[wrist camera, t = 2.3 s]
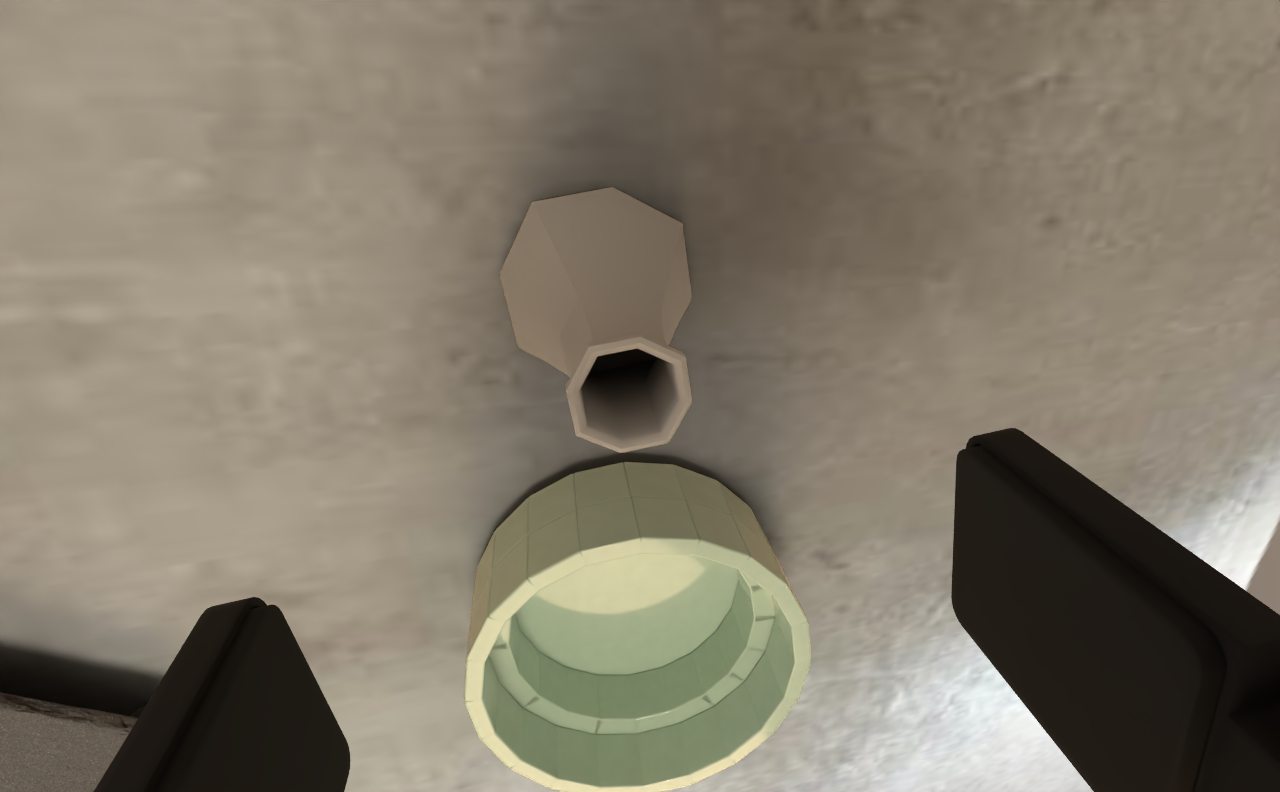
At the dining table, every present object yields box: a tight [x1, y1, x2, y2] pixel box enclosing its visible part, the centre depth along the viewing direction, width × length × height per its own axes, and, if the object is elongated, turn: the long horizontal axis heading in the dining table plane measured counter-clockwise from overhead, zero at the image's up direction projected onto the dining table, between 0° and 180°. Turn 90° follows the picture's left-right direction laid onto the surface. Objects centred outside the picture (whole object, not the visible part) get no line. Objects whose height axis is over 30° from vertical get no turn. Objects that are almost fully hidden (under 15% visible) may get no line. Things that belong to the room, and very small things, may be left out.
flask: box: [499, 187, 692, 453], centre depth 22 cm, size 7×7×10 cm
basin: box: [464, 462, 812, 792], centre depth 30 cm, size 13×13×6 cm
